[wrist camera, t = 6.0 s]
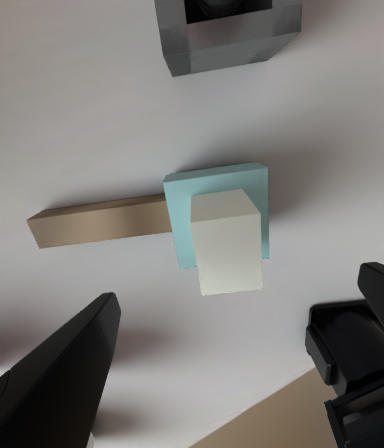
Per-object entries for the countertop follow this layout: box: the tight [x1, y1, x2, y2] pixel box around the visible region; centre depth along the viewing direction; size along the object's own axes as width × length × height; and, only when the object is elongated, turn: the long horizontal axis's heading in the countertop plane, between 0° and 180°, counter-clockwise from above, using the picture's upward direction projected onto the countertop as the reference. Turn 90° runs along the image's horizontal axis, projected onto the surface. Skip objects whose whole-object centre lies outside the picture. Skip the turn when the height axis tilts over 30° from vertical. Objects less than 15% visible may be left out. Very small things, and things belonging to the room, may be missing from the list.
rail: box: [26, 194, 172, 249], centre depth 18 cm, size 17×2×2 cm, turn 98°
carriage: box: [163, 162, 269, 296], centre depth 14 cm, size 6×6×8 cm
